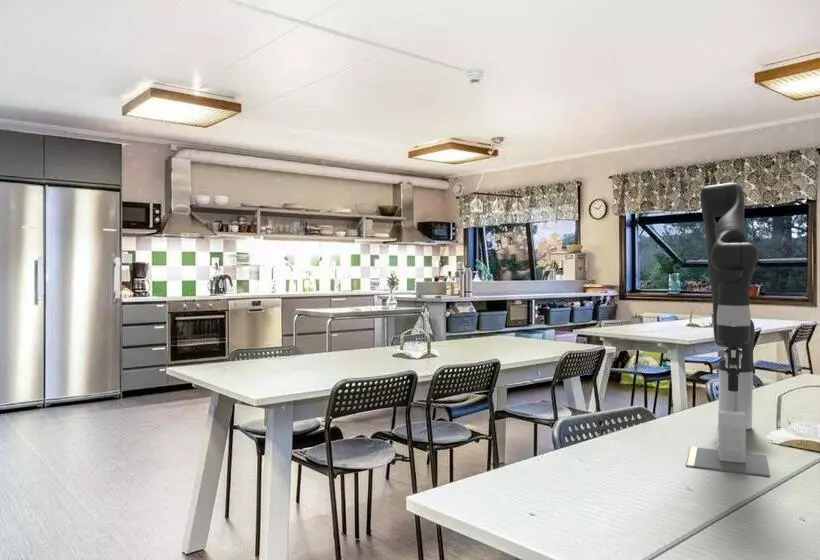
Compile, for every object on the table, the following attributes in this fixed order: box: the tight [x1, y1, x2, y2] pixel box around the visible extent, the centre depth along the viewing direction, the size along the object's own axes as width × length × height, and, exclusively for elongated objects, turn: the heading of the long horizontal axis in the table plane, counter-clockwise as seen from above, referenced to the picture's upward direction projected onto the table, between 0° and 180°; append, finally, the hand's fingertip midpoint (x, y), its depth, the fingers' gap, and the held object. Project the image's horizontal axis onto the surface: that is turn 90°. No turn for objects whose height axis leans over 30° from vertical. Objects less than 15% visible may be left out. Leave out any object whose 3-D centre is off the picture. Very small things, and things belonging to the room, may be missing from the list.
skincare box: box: [717, 409, 747, 463], centre depth 163 cm, size 6×4×12 cm
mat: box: [685, 446, 771, 478], centre depth 163 cm, size 18×18×1 cm
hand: (732, 388), depth 163 cm, fingers open, 8 cm apart
